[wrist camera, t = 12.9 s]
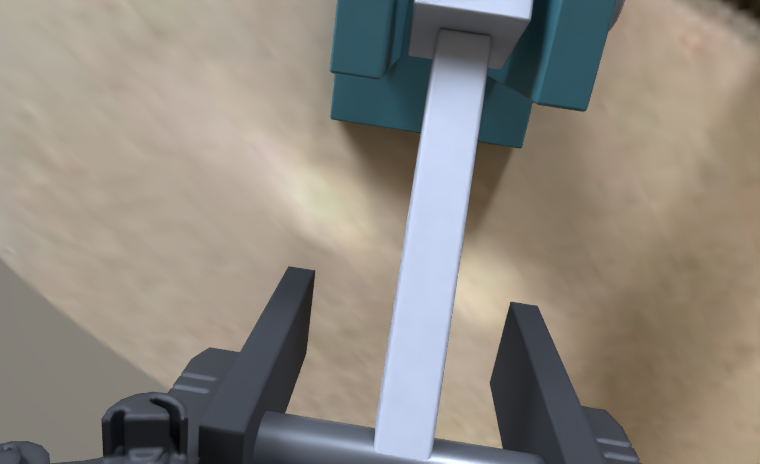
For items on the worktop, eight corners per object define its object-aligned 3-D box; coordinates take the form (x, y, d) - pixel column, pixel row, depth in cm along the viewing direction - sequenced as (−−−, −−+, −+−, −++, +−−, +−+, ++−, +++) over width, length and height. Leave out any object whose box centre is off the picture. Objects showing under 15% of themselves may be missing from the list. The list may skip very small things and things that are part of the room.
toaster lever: (519, 495, 12) (554, 552, 9) (266, 453, 12) (236, 499, 9) (589, -34, 13) (638, -108, 10) (355, -69, 13) (349, -149, 10)
